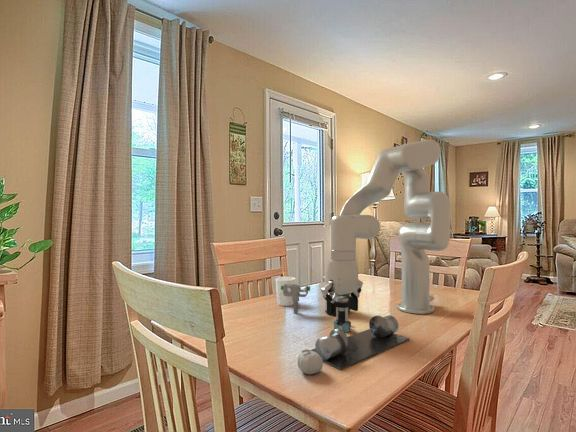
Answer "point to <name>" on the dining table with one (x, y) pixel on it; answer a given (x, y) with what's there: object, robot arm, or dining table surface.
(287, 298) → the white cup
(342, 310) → the push button
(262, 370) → the dining table surface
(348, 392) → the dining table surface
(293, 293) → the mechanical component
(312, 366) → the garlic
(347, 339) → the plate with silver knobs
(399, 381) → the dining table surface
